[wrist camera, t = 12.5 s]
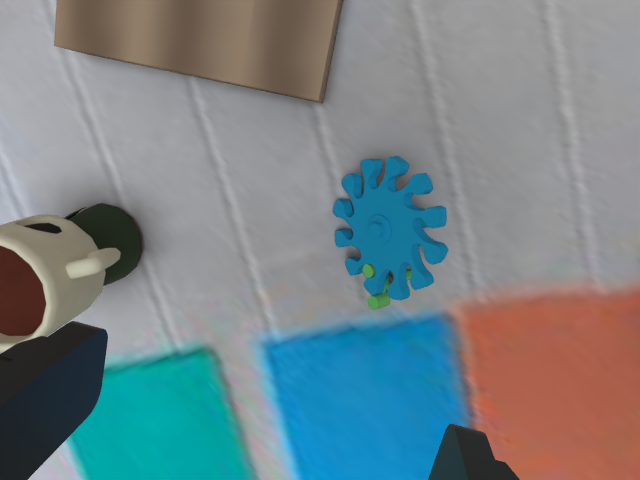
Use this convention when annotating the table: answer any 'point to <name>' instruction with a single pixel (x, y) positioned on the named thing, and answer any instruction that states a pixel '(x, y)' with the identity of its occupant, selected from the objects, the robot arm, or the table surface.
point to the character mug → (60, 268)
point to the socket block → (211, 39)
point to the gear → (389, 231)
